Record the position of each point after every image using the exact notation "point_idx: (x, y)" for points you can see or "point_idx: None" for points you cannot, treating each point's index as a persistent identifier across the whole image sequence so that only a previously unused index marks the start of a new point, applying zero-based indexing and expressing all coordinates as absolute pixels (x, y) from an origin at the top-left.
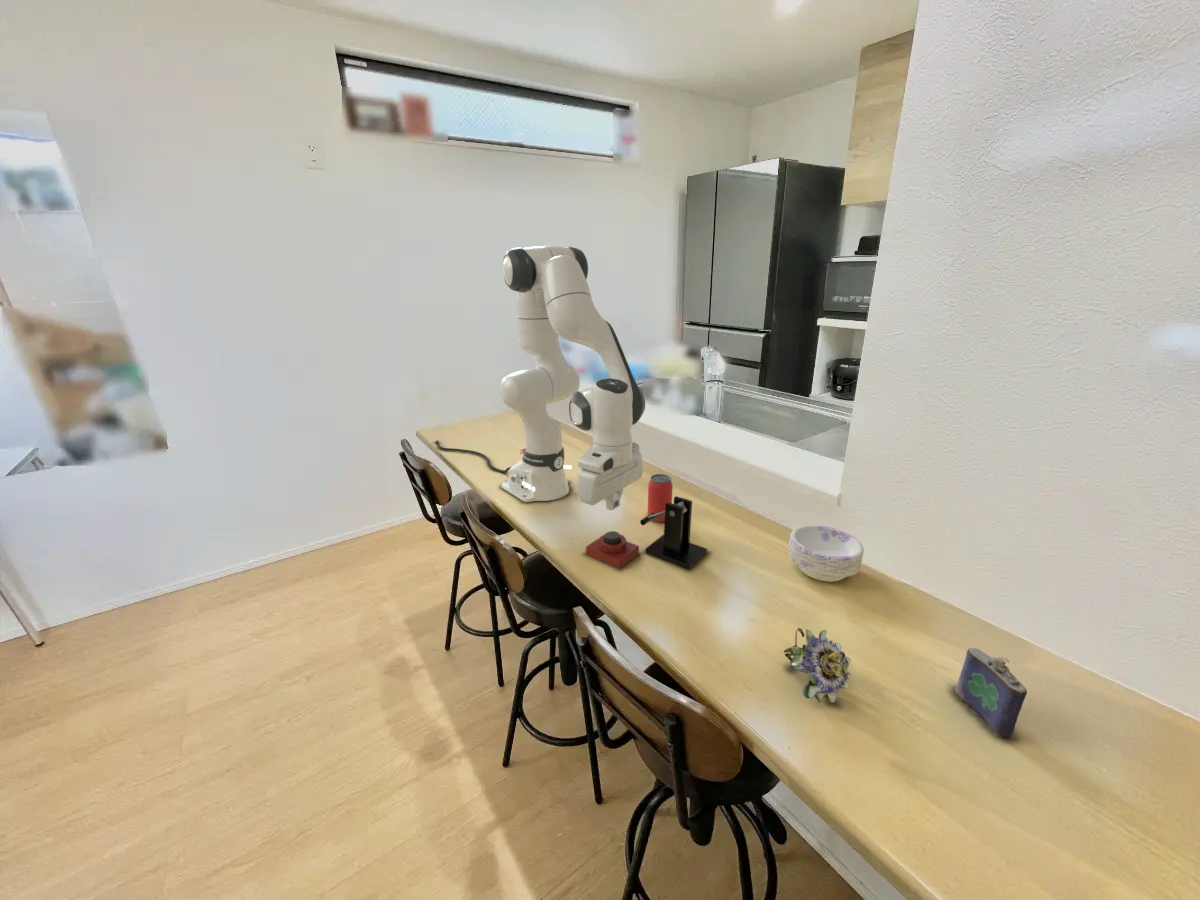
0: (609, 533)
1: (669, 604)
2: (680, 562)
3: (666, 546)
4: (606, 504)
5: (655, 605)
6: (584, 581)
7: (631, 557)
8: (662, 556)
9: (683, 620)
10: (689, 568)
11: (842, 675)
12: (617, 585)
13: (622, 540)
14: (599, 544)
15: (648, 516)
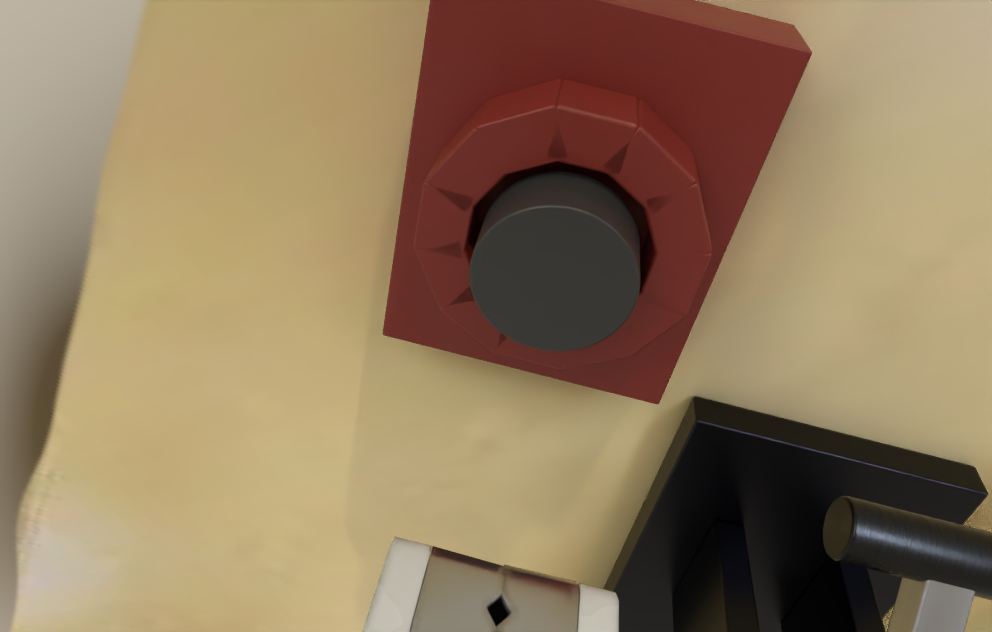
0: (567, 246)
1: (264, 573)
2: None
3: (710, 566)
4: (376, 597)
5: (216, 529)
6: (117, 122)
7: None
8: (646, 514)
9: (207, 621)
10: None
11: None
12: (232, 337)
13: None
14: (464, 132)
15: (954, 584)
